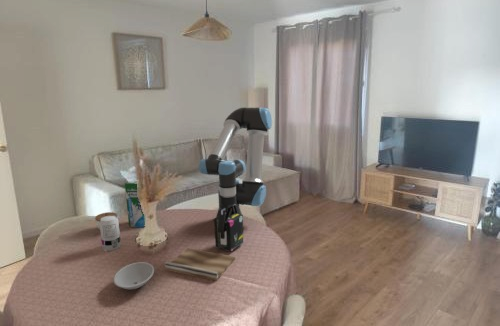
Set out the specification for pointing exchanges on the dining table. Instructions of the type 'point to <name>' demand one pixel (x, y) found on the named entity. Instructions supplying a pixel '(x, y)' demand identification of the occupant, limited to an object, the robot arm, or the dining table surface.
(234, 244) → the tampon box
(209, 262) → the shelf board
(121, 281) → the dish
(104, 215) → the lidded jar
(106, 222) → the supplement can
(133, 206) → the milk carton
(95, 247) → the dining table surface
